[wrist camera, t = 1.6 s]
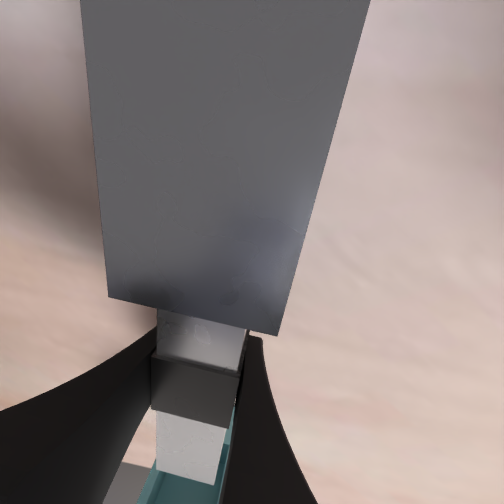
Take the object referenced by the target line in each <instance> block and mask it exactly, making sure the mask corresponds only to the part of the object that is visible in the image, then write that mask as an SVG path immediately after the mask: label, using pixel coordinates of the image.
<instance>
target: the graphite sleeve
mask: <svg viewBox="0 0 504 504" xmlns="http://www.w3.org/2000/svg"><path fill="white" fill-rule="evenodd" d="M370 1H371V0H80V4H81V15H82V25H83V36H84V46H85V57H86V67H87V78H88V88H89V98H90V109H91V119H92V130H93V140H94V151H95V161H96V172H97V182H98V193H99V203H100V213H101V224H102V234H103V245H104V255H105V266H106V276H107V287H108V297H110V298H114V299H119V300H123V301H127V302H131V303H136V304H140V305H144V306H149V307H153V308H157V309H161V310H166V311H170V312H174V313H179V314H183V315H187V316H191V317H196V318H200V319H204V320H209V321H213V322H217V323H221V324H226V325H230V326H234V327H239V328H243V329H247V330H252V331H256V332H260V333H264V334H269V335H273V336H278V332H279V329H280V325H281V321H282V318H283V314H284V311H285V307H286V303H287V300H288V296H289V293H290V289H291V285H292V282H293V278H294V275H295V271H296V267H297V264H298V260H299V256H300V253H301V249H302V246H303V242H304V238H305V235H306V231H307V228H308V224H309V220H310V217H311V213H312V210H313V206H314V202H315V199H316V195H317V192H318V188H319V184H320V181H321V177H322V174H323V170H324V166H325V163H326V159H327V156H328V152H329V148H330V145H331V141H332V138H333V134H334V130H335V127H336V123H337V120H338V116H339V112H340V109H341V105H342V102H343V98H344V94H345V91H346V87H347V84H348V80H349V76H350V73H351V69H352V66H353V62H354V58H355V55H356V51H357V48H358V44H359V40H360V37H361V33H362V29H363V26H364V22H365V19H366V15H367V11H368V8H369V4H370Z"/></svg>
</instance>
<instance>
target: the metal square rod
mask: <svg viewBox="0 0 504 504" xmlns="http://www.w3.org/2000/svg"><path fill="white" fill-rule="evenodd" d="M249 332H250V330H247V329H243V328H239V327H234V326H230V325H226V324H221V323H217V322H213V321H209V320H204V319H200V318H196V317H191V316H187V315H183V314H179V313H174V312H170V311H166V310H161V309H157V348H156V350H155V351H154V353H153V354H152V356H151V409H153V410H156V411H157V415H156V470H160V471H163V472H167V473H170V474H174V475H178V476H181V477H185V478H188V479H192V480H196V481H199V482H203V483H207V484H210V485H214V482H215V478H216V473H217V469H218V464H219V460H220V455H221V451H222V446H223V442H224V437H225V433H226V429H229V426H230V422H231V417H232V412H233V407H234V403H235V398H236V393H237V389H238V384H239V379H240V375H241V370H242V365H243V360H244V356H245V351H246V346H247V342H248V337H249Z"/></svg>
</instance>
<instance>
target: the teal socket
mask: <svg viewBox="0 0 504 504" xmlns="http://www.w3.org/2000/svg"><path fill="white" fill-rule="evenodd" d="M234 410H235V406H234V407H233V412H232V417H231V422H230V426H229V429H226V433H225V437H224V442H223V446H222V451H221V455H220V460H219V464H218V469H217V473H216V478H215V482H214V485H210V484H207V483H203V482H199V481H196V480H192V479H188V478H185V477H181V476H178V475H174V474H170V473H167V472H163V471H160V470H156V459H155V462H154V464H153V466H152V469H151V471H150V473H149V476H148V478H147V480H146V483H145V485H144V487H143V490H142V492H141V494H140V497H139V499H138V501H137V503H136V504H218V503H219V498H220V493H221V488H222V483H223V478H224V473H225V468H226V463H227V458H228V453H229V447H230V441H231V433H232V426H233V418H234Z"/></svg>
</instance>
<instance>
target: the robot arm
mask: <svg viewBox="0 0 504 504" xmlns="http://www.w3.org/2000/svg"><path fill="white" fill-rule="evenodd" d="M156 348H157V326H156V327H155V328H153V329H152V330H151V331H149V332H148V333H147V334H145V335H144V336H142V337H141V338H140V339H138V340H137V341H135V342H134V343H133V344H131V345H130V346H128V347H127V348H125V349H124V350H122V351H120V352H119V353H117V354H116V355H114V356H113V357H111V358H110V359H108V360H106V361H105V362H103V363H101V364H100V365H98V366H96V367H94V368H93V369H91V370H89V371H87V372H85V373H84V374H82V375H80V376H78V377H76V378H74V379H72V380H70V381H68V382H66V383H64V384H62V385H60V386H58V387H56V388H54V389H52V390H49V391H47V392H45V393H43V394H40V395H38V396H36V397H34V398H31V399H29V400H27V401H24V402H22V403H19V404H17V405H14V406H12V407H9V408H7V409H4V410H2V411H0V504H102V503H103V500H104V498H105V496H106V494H107V492H108V489H109V487H110V485H111V483H112V481H113V478H114V476H115V474H116V472H117V470H118V468H119V466H120V463H121V461H122V459H123V457H124V455H125V453H126V451H127V449H128V446H129V444H130V442H131V440H132V438H133V436H134V434H135V432H136V430H137V428H138V426H139V424H140V422H141V420H142V419H143V417H144V415H145V413H146V412H147V410H148V408H149V407H150V405H151V356H152V354H153V353H154V351H155V350H156ZM218 504H318V503H317V501H316V499H315V497H314V495H313V494H312V492H311V490H310V488H309V486H308V484H307V481H306V479H305V477H304V475H303V473H302V471H301V469H300V467H299V465H298V462H297V460H296V458H295V455H294V453H293V451H292V449H291V446H290V444H289V442H288V439H287V437H286V434H285V431H284V429H283V426H282V424H281V421H280V418H279V415H278V412H277V409H276V406H275V403H274V399H273V396H272V392H271V389H270V385H269V381H268V376H267V372H266V367H265V361H264V355H263V340H262V339H261V338H260V337H255V336H251V335H249V337H248V342H247V346H246V351H245V356H244V360H243V365H242V370H241V375H240V379H239V384H238V389H237V394H236V402H235V410H234V418H233V426H232V433H231V441H230V447H229V453H228V458H227V463H226V468H225V473H224V478H223V483H222V488H221V493H220V498H219V503H218Z"/></svg>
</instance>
